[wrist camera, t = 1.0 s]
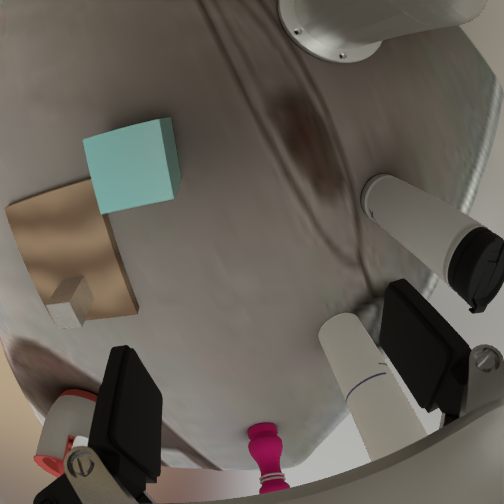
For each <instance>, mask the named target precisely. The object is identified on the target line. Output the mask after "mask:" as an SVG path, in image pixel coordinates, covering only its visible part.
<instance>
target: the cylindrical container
mask: <svg viewBox="0 0 504 504" xmlns="http://www.w3.org/2000/svg"><path fill="white" fill-rule="evenodd" d="M318 339H319V341H320V343H321V346H322V348H323V350H324V352H325V354H326V357H327V359H328V361H329V363H330V366H331V368H332V370H333V372H334V375H335V377H336V379H337V382H338V384H339V386H340V388H341V391H342V393H343V395H344V398H345V400H346V402H347V404H348V407H349V409H350V411H351V414H352V416H353V419H354V421H355V423H356V426H357V428H358V430H359V433H360V435H361V437H362V440H363V442H364V445H365V446H366V449H367V452H368V454H369V457H370V459H371V461H372V462H373V461H375V460H378V459H380V458H382V457H385V456H387V455H389V454H391V453H394V452H396V451H398V450H400V449H402V448H404V447H406V446H408V445H410V444H412V443H414V442H416V441H418V440H420V439H422V438H424V437H426V436H428V435H427V433H426V431H425V429H424V428H423V426H422V424H421V422H420V420H419V419H418V417H417V415H416V413H415V411H414V409H413V408H412V406H411V405H410V402H409V401H408V399H407V397H406V396H405V394H404V392H403V390H402V389H401V387H400V385H399V383H398V382H397V380H396V378H395V377H394V375H393V373H392V372H391V370H390V368H389V367H388V365H387V363H386V362H385V360H384V358H383V357H382V355H381V353H380V352H379V350H378V349H377V347H376V345H375V344H374V342H373V341H372V339H371V337H370V336H369V334H368V333H367V331H366V329H365V328H364V326H363V325H362V323H361V322H360V320H359V319H358V317H357V316H356V315H355V314H352V313H341V314H338V315H335V316H333V317H331V318H330V319H328V320H327V321H326V322H325V323H324V324H323V325H322V327H321V328H320V330H319V333H318Z"/></svg>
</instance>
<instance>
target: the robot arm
mask: <svg viewBox="0 0 504 504" xmlns="http://www.w3.org/2000/svg"><path fill="white" fill-rule="evenodd" d="M486 2H487V0H278V13H279V18H280V20H281V23H282V26H283V27H284V29H285V31H286V32H287V34H288V35H289V36H290V37H291V39H292V40H293V41H294V42H295V43H296V44H297V45H298V46H299V47H301V48H302V49H303V50H304V51H306V52H308V53H309V54H311V55H312V56H315V57H317V58H319V59H321V60H324V61H328V62H332V63H341V64H345V63H354V62H358V61H361V60H364V59H366V58H368V57H369V56H371V55H372V54H374V53H375V52H376V50H377V49H378V48H379V47H380V45H381V43H382V41H383V40H386V39H390V38H394V37H399V36H403V35H407V34H412V33H416V32H421V31H427V30H432V29H438V28H444V27H450V26H456V25H461V24H465V23H467V22H470V21H471V20H473V19H474V18H476V17H477V16H478V15H479V14H480V13H481V12H482V10H483V9H484V7H485V5H486ZM294 31H296V32H297V33H298V34H297V35H296V34H295V33H294ZM339 55H340V56H341V58H340V56H339ZM379 342H380V345H381V347H382V349H383V350H384V352H385V353H386V355H387V356H388V358H389V359H390V361H391V362H392V364H393V365H394V367H395V368H396V370H397V371H398V373H399V374H400V376H401V377H402V379H403V381H404V382H405V384H406V385H407V387H408V388H409V390H410V391H411V393H412V395H413V396H414V398H415V399H416V401H417V402H418V404H419V406H420V407H421V408H425V409H426V410H427V412H428V413H429V412H431V411H433V410H435V409H437V408H439V409H440V410H441V412H442V416H441V422H440V427H439V430H437V431H435V432H434V433H432V434H430V435H428V436H426V437H424V438H422V439H420V440H418V441H416V442H414V443H412V444H410V445H408V446H406V447H404V448H402V449H400V450H398V451H396V452H394V453H391V454H389V455H387V456H385V457H382V458H380V459H378V460H375V461H373V462H370V463H368V464H365V465H363V466H360V467H357V468H355V469H352V470H349V471H346V472H344V473H340V474H338V475H335V476H331V477H328V478H325V479H322V480H318V481H315V482H311V483H308V484H304V485H300V486H296V487H292V488H288V489H284V490H279V491H274V492H269V493H264V494H259V495H253V496H247V497H241V498H233V499H226V500H216V501H205V502H190V503H170V504H504V360H503V356H502V354H501V353H500V352H499V351H498V350H497V349H496V348H494V347H493V346H490V345H486V344H485V345H479V346H476V347H475V348H473V350H471V349H470V348H469V345H468V344H467V343H466V342H465V341H464V339H463V338H462V337H461V336H460V335H459V334H458V333H457V332H456V331H455V330H454V329H453V327H452V326H450V324H449V323H448V322H447V321H446V320H445V319H444V318H443V317H442V316H441V315H440V314H439V313H438V312H437V310H436V309H435V308H434V307H433V306H432V305H431V304H430V303H429V302H428V301H427V300H426V299H425V298H424V297H423V296H422V295H421V294H420V293H419V292H418V291H417V290H416V289H415V288H414V287H413V286H412V285H411V284H410V283H409V282H408V281H407V280H405V279H400V280H397V281H394V282H391V283H389V286H388V287H387V288H386V290H385V298H384V307H383V315H382V323H381V330H380V337H379ZM162 403H163V399H162V394H161V392H160V390H159V389H158V387H157V386H156V384H155V383H154V381H153V379H152V378H151V376H150V375H149V373H148V371H147V370H146V368H145V367H144V365H143V363H142V362H141V360H140V358H139V357H138V355H137V353H136V351H135V350H134V349H133V348H130V347H129V346H127V345H124V346H117V347H113V348H112V349H111V352H110V355H109V359H108V363H107V366H106V370H105V374H104V378H103V382H102V385H101V386H100V388H99V392H98V396H97V401H96V405H95V409H94V414H93V419H92V424H91V429H90V434H89V439H88V445H87V446H77V447H75V448H73V449H71V450H70V451H69V452H68V453H67V455H66V457H65V459H64V471H65V473H63V474H62V475H61V476H60V477H58V478H57V479H56V480H55V481H54V482H52V483H51V484H50V485H48V486H47V487H46V488H45V489H43V490H42V491H41V492H40V493H38V494H37V495H36V497H35V499H34V502H33V504H157V503H156V502H155V501H154V500H153V499H152V498H151V496H150V495H149V494H148V493H147V492H146V491H145V490H146V483H157V477H158V476H160V473H161V425H162ZM168 504H169V503H168Z"/></svg>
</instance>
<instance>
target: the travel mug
mask: <svg viewBox="0 0 504 504" xmlns="http://www.w3.org/2000/svg"><path fill="white" fill-rule="evenodd" d="M361 205H362V209H363V211H364V213H365V214H366V215H367V216H368V217H369V218H370V219H371V220H373V221H374V222H375V223H376V224H378V225H379V226H380V227H381V228H383V229H384V230H385V231H386V232H388V233H389V234H390V235H391V236H393V237H394V238H395V239H396V240H397V241H399V242H400V243H401V244H402V245H403V246H405V247H406V248H407V249H408V250H409V251H410V252H412V253H413V254H414V255H415V256H416V257H417V258H418V259H420V260H421V261H422V262H423V263H424V264H425V265H426V266H427V267H429V268H430V269H431V270H432V271H433V272H434V273H435V274H436V275H437V276H438V277H440V278H441V279H442V280H443V281H444V282H445V283H447V285H448V286H449V287H450V288H451V289H453V290H454V291H456V292H457V293H458V295H459V296H461V297H462V298H463V299H464V300H465V301H466V302H467V303H468V304H469V305H470V306H471V307H472V308H469V311H470V312H471V313H481V312H484V310H485V309H486V307H487V304H489V303H490V302H491V301H492V300H493V299H494V297H495V296H496V295H497V293H498V292H499V290H500V288H501V286H502V284H503V282H504V240H503V239H502V238H501V237H499V236H498V235H496V234H495V233H493V232H491V231H490V230H489V229H488V228H487V227H485V226H483V225H481V224H480V223H479V222H477V221H476V220H474V219H472V218H471V217H469V216H467V215H466V214H464V213H462V212H461V211H459V210H457V209H455V208H454V207H452V206H450V205H448V204H446V203H445V202H443V201H441V200H439V199H437V198H435V197H434V196H432V195H430V194H428V193H426V192H424V191H422V190H420V189H418V188H416V187H414V186H412V185H410V184H408V183H406V182H404V181H402V180H400V179H398V178H396V177H394V176H392V175H389V174H379V175H376V176H374V177H373V178H371V179H370V180H369V181H368V182H367V184H366V185H365V187H364V189H363V192H362V196H361Z"/></svg>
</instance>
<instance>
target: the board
mask: <svg viewBox="0 0 504 504" xmlns="http://www.w3.org/2000/svg"><path fill="white" fill-rule="evenodd" d="M4 209H5V212H6V215H7V218H8V221H9V224H10V227H11V229H12V232H13V235H14V238H15V240H16V243H17V246H18V248H19V251H20V253H21V256H22V258H23V260H24V263H25V265H26V267H27V270H28V272H29V274H30V276H31V278H32V281H33V283H34V285H35V287H36V289H37V291H38V293H39V295H40V297H41V299H42V301H43V303H44V305H45V307H46V304H47V302H48V301H49V299H50V298H51V296H52V294H53V293H54V291H55V290H56V288H57V287H58V285H59V284H60V282H61V281H62V280H63V279H69V278H75V277H81V276H84V277H85V279H86V282H87V284H88V286H89V288H90V291H91V293H92V295H93V297H94V301H93V303H92V306H91V308H90V310H89V312H88V314H87V317H86V319H85V320H93V319H102V318H111V317H119V316H127V315H135V314H138V310H139V305H138V303H137V300H136V298H135V295H134V292H133V290H132V287H131V284H130V282H129V279H128V276H127V273H126V271H125V268H124V265H123V262H122V259H121V256H120V253H119V250H118V247H117V244H116V241H115V238H114V235H113V231H112V228H111V225H110V221H109V218H108V215H107V213H105V214H101V213H100V210H99V206H98V202H97V199H96V195H95V191H94V187H93V184H92V180H91V178H87V179H84V180H80V181H77V182H74V183H70V184H67V185H64V186H61V187H58V188H55V189H52V190H49V191H46V192H43V193H40V194H37V195H34V196H31V197H28V198H26V199H23V200H20V201H18V202H15V203H12V204H10V205H8V206H7V207H6V208H4ZM46 309H47V307H46ZM47 311H48V312H49V310H48V309H47ZM49 314H50V312H49ZM50 316H51V314H50ZM51 318H52V316H51ZM52 320H53V318H52ZM53 322H54V323H55V321H54V320H53Z"/></svg>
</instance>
